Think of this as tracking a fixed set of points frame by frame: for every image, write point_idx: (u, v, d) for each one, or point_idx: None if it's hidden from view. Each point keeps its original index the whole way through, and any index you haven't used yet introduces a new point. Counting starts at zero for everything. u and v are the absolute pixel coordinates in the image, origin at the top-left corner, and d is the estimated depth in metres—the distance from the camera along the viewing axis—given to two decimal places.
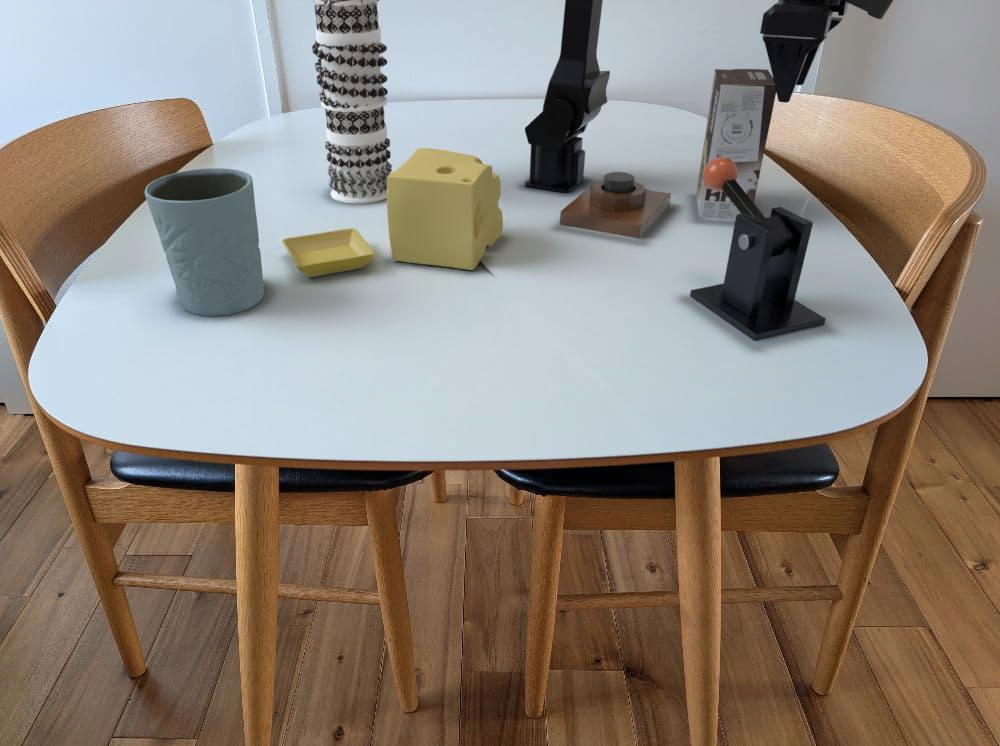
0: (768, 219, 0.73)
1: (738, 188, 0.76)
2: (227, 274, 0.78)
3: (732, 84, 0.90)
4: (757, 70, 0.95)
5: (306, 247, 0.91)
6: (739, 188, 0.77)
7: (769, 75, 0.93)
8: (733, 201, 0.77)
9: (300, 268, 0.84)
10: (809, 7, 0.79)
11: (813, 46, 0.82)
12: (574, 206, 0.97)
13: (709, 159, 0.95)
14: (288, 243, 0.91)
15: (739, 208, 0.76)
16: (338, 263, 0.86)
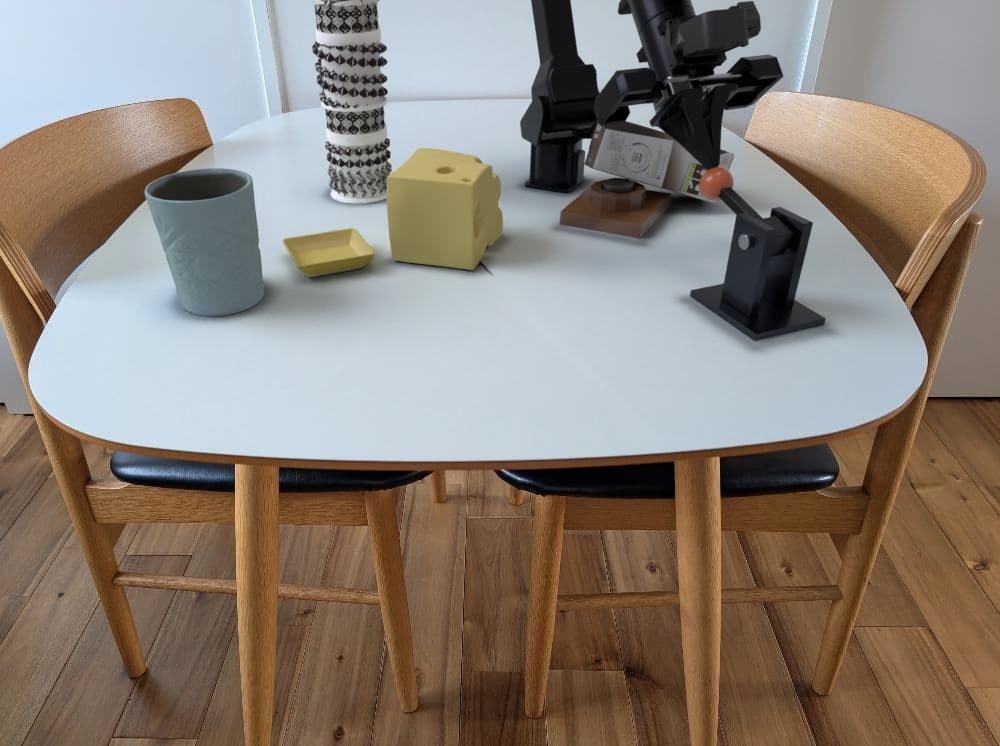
0: (767, 219, 0.73)
1: (735, 194, 0.77)
2: (227, 274, 0.78)
3: (595, 157, 0.97)
4: (595, 126, 1.03)
5: (306, 247, 0.91)
6: (736, 194, 0.77)
7: None
8: (731, 207, 0.77)
9: (300, 268, 0.84)
10: (611, 77, 0.76)
11: (684, 101, 0.77)
12: (574, 206, 0.97)
13: (658, 186, 0.98)
14: (288, 243, 0.91)
15: (737, 213, 0.76)
16: (338, 263, 0.86)
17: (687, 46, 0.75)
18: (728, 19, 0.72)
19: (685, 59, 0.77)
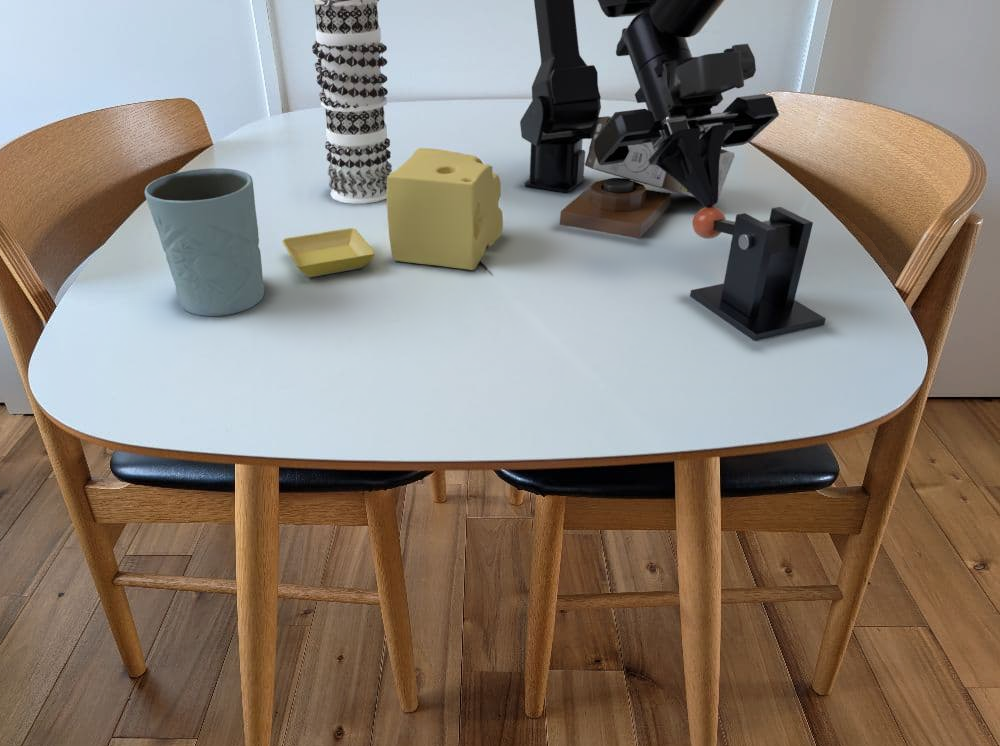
0: None
1: (727, 221, 0.79)
2: (227, 274, 0.78)
3: (595, 157, 0.97)
4: (595, 127, 1.03)
5: (306, 247, 0.91)
6: (729, 221, 0.79)
7: (601, 119, 1.00)
8: (727, 231, 0.78)
9: (300, 268, 0.84)
10: (610, 119, 0.78)
11: (682, 141, 0.79)
12: (574, 206, 0.97)
13: (658, 186, 0.98)
14: (288, 243, 0.91)
15: None
16: (338, 263, 0.86)
17: (684, 88, 0.77)
18: (723, 62, 0.74)
19: (682, 100, 0.79)
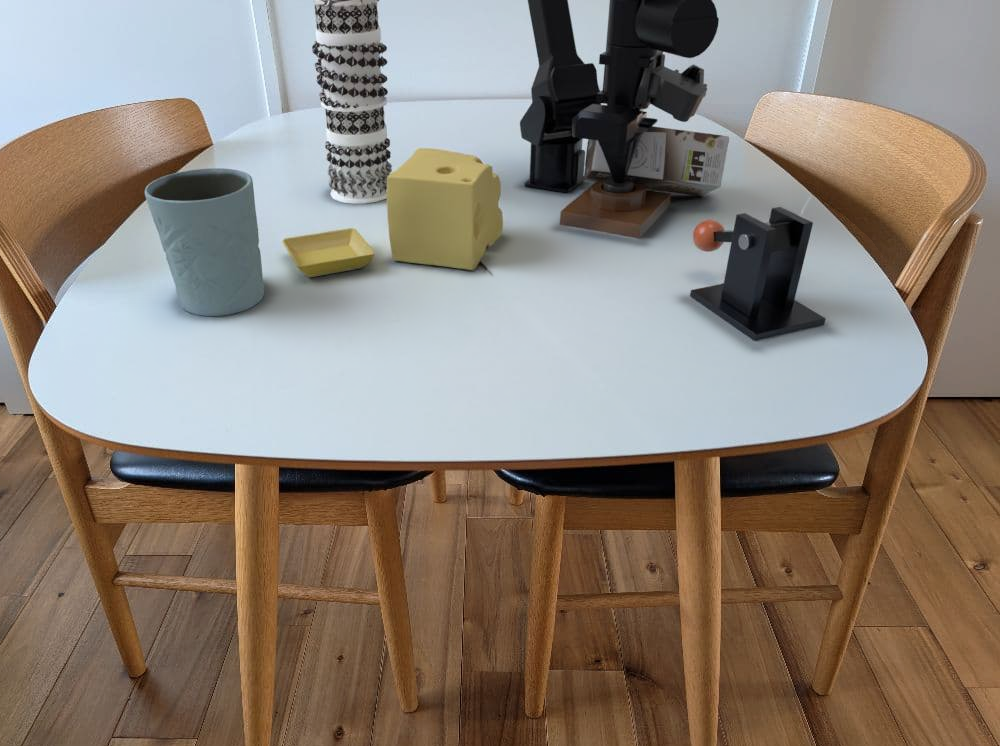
0: None
1: (727, 230, 0.79)
2: (227, 274, 0.78)
3: (592, 159, 0.98)
4: (588, 143, 1.05)
5: (306, 247, 0.91)
6: (728, 230, 0.79)
7: None
8: (727, 240, 0.79)
9: (300, 268, 0.84)
10: (610, 115, 0.85)
11: (634, 137, 0.91)
12: (574, 206, 0.97)
13: (659, 178, 0.98)
14: (288, 243, 0.91)
15: None
16: (338, 263, 0.86)
17: (662, 102, 0.88)
18: (699, 100, 0.88)
19: None
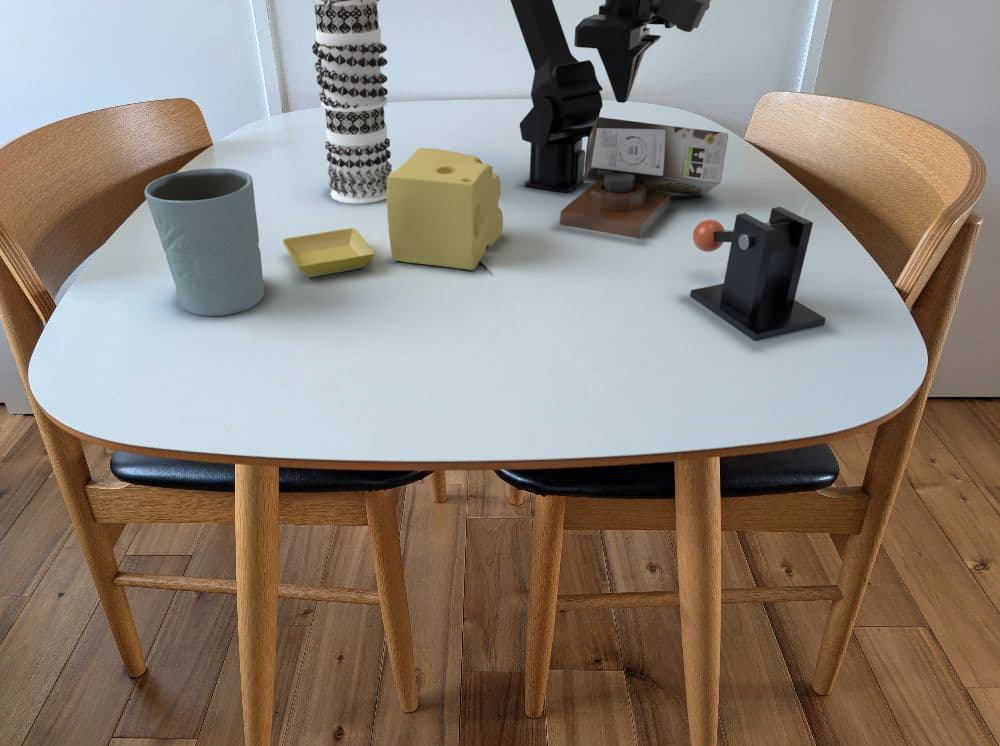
0: None
1: (727, 230, 0.79)
2: (227, 274, 0.78)
3: (592, 156, 0.98)
4: (587, 144, 1.05)
5: (306, 247, 0.91)
6: (728, 230, 0.79)
7: (591, 130, 1.02)
8: (727, 240, 0.79)
9: (300, 268, 0.84)
10: (613, 21, 0.84)
11: (637, 51, 0.90)
12: (574, 206, 0.97)
13: (659, 175, 0.98)
14: (288, 243, 0.91)
15: None
16: (338, 263, 0.86)
17: (665, 12, 0.87)
18: (703, 9, 0.87)
19: None
